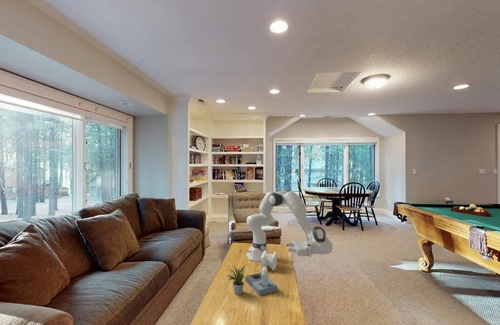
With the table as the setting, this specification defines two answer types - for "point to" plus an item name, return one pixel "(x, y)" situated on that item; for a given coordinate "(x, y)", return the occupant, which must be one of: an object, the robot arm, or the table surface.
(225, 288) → the table surface
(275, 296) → the table surface
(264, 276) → the plug
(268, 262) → the cable organizer
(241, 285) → the house plant
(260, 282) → the socket panel
